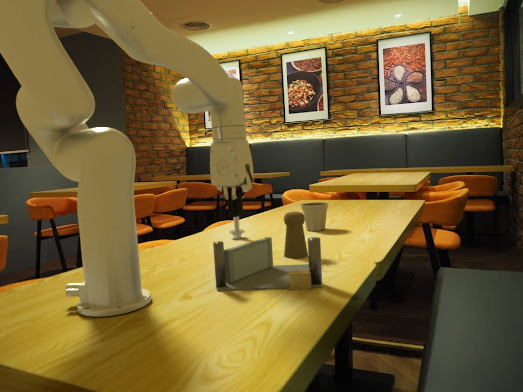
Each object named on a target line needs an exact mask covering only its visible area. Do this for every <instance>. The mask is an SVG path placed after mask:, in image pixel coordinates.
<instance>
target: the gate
mask: <svg viewBox="0 0 523 392" xmlns="http://www.w3.org/2000/svg"><path fill="white" fill-rule="evenodd" d="M224 259H225V274H226V282H229V283H231V282H234V281H235V280H238V279H241V278H243V277H246V276H248V275H251V274H253V273H256V272H259V271H261V270H264V269H266V268H269V267H272V266H274V257H273V239H272V237H267V236H266V237H263V238H261V239H257V240H253V241H251V242H250V241H249V242H247V243H243V244H240V245H239V244H238V245H236V246H233V247H229V248H224Z"/></svg>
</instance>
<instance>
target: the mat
mask: <svg viewBox="0 0 523 392" xmlns="http://www.w3.org/2000/svg"><path fill="white" fill-rule="evenodd" d="M305 270H309V263H307V264H278V265H273V266H272V267H269V268H266V269H264V270H261V271H259V272H256V273H253V274H251V275H248V276H246V277H243V278H241V279H238V280H235V281H234V282H231V283H229V282H226V286H225V287H222V288H216V291H217V292H218V291H219V292H220V291H222V292H224V291H225V292H227V291H253V290H255V291H256V290H257V291H258V290H279V289H280V290H281V289H282V290H283V289H290V278H289V271H305ZM322 287H323V283H322V284H318V285H313V284H311V288H312V289H313V288H317V289H318V288H322Z"/></svg>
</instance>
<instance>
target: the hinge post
mask: <svg viewBox="0 0 523 392" xmlns="http://www.w3.org/2000/svg"><path fill="white" fill-rule="evenodd" d="M224 246H225V244H224V241H220V240H219V241H214V242H213V243H212V247H213V260H214V262H213V263H214V274H215V277H214V279H215V288H216V289H217V288H222V287H225V286H226V274H225V259H224V250H225V248H224Z"/></svg>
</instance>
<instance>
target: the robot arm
mask: <svg viewBox="0 0 523 392" xmlns="http://www.w3.org/2000/svg"><path fill="white" fill-rule="evenodd" d="M94 24H96V26H98V27H99V28H100V29H101V30H102V31H103V32H104V33H105V34H106V35H108V37H109V38H110V39H111V40H113V42H115V44H116V45H118V46H119V47H120V48H121V50H123V51H124V52H125V53H126V54H127V55H128V57H130V58H131V59H132V60H135V61H138V62H141V63H145V64H149V65H153V66H157V67H158V66H159V67H162V68H165V69H169V70H171V71H174V72H176V73H177V74H179V75H181V76H182V77H184V78H183V79H180V80H179V81H177V83H176V84H175V85H174V86H173V88H172V91H171V100H172V103H173V104H174V106H175V108H176V109H178V110H179V111H181V113H182V112H183V113H185V114H192V115H193V114H199V113H205V112H206V113H207V112H209V113H210V122H211V123H210V125H211V135H212V142H211V143H210V151H209V154H210V155H209V169H210V182H211V185H212V186H214V187H216V190H218V191H219V192H222V194H223V195H224V199H225V200H226V202H227V214H228V217H229V218H234V217H238V216H239V217H241V216H243V215H244V207H243V205H244V203H243V199H244V198H245V194H246V192H249V191H252V190H253V185H252V183H253V182H254V178H255V177H254V166H253V165H254V163H253V158H252V152H251V147H250V143H249V140H247V133H246V132H247V128H246V119H245V117H246V116H245V115H246V114H245V106H244V94H243V93H244V91H243V84H242V82H241V80H240V79H239V78H236V77H230V76H229V74H228V73H227V71H226V70H225V69H224V68H223V66H222V65H221V64H220V63H219V62H218V60H217V59H215V57H214V56H213V55H212V54H211V53H210V52H209V51H208V50H207V49H205V47H203V46H202V45H200V44H199V43H196V41H193V40H192V39H190V38H188V37H186V36H184V35H182V34H181V33H179V32H177V31H174V30H172V29H169V28H168V27H166V26H165V25H163V24H162V23H161V22H160V21H159V20H158V18H157V17H156V16H154V14H153V13H152V11H150V10H149V8H148V7H146V6H145V4H144V3H143V2H142V1H141V0H0V54H1V56H2V58H3V59H4V61H5V62H6V64H7V66H8V67H9V68H10V70H11V71H12V73H13V75H14V77H15V78H16V79H17V81H18V83H19V84H20V86H21V87H20V88H19V90H18V92H17V94H16V97H15V98H16V99H15V105H16V110H17V114H18V116H19V119H20V120H21V122H22V124H23V125H24V127H25V129H27V132H28V133H29V134H30V136H31V137H32V138H33V140H34V141H35V142H36V144H37V145H38V146H39V148H40V149H41V151H43V154H44V155H45V156H46V157H47V159H48V160H49V161H50V163H51V164H52V165H53V166H54V168H56V170H57V171H58V172H59V173H60V174H61V175H62V176H63V177H65V178H67V179H68V180H71V181H74V182H76V183H78V186H77V195H76V196H77V199H76V209H77V211H76V212H77V220H78V229H79V238H80V250H81V260H82V261H81V262H82V269H83V280H84V281H83V282H80V283H79V282H70V283H69V282H68V283H67V284H66V285H65V296H66V297H67V298H68V297H69V298H70V297H78V298H79V299H80V300H79V301H78V303H77V304H76V307H77V312H78V313H79V314H80V315H83V316H86V317H95V318H99V317H100V318H101V317H113V316H118V315H122V314H127V313H130V312H134V311H136V310H139V309H142V308H144V307H145V306H147V305H148V304H149V303H150V302H151V301H152V292H151V291H150V290H148V289H146V288H142V278H141V277H142V276H141V266H140V265H141V264H140V254H139V242H138V231H137V230H138V227H137V216H136V208H135V178H136V177H135V176H136V175H135V174H136V165H137V158H136V156H137V155H136V152H135V148H134V145H133V143H132V141H131V140H130V138H129V137H128V136H127V135H126V134H124V133H123V132H122V131H120V130H118V129H116V128H112V127H105V126H103V127H101V126H100V127H99V126H97V127H92V128H89V127H88V125H87V124H86V122H88V120H90V118H91V117H92V116H93V114H94V112H95V107H96V101H95V97H94V95H93V92H92V91H91V89H90V87H89V85H88V84H87V82H86V81H85V79H84V77H83V76H82V74H81V73H80V71H79V70H78V68H77V66H76V65H75V64H74V62H73V60H72V59H71V57H70V55H69V54H68V53H67V51H66V49H65V47H64V46H63V45H62V42H61V41H60V39H59V37H58V35H57V33H56V31H55V27H56V28H65V29H66V28H69V29H83V28H89V27H91V26H93V25H94Z"/></svg>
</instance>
